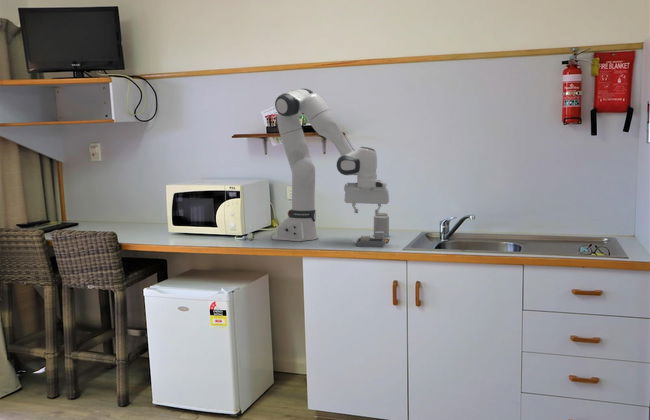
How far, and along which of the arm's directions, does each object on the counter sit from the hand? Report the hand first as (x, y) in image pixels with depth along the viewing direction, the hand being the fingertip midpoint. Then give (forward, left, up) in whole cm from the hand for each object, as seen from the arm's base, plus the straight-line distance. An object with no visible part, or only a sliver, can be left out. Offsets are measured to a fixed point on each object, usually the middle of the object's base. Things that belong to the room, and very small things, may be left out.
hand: (366, 213), depth 283 cm
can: (+4, +25, -15) cm, 29 cm away
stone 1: (0, -1, -14) cm, 14 cm away
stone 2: (+5, +13, -14) cm, 20 cm away
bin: (+2, -1, -15) cm, 15 cm away
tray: (+2, +10, -15) cm, 18 cm away
